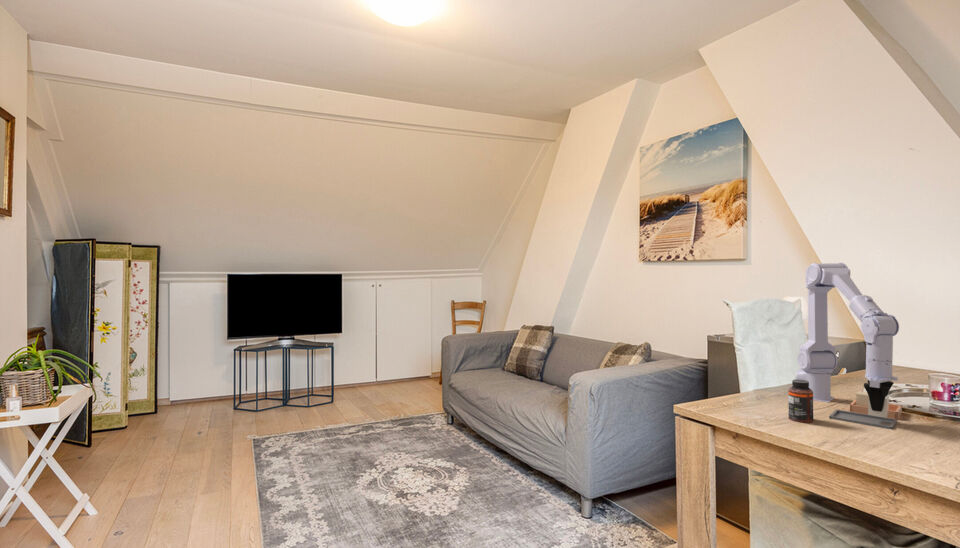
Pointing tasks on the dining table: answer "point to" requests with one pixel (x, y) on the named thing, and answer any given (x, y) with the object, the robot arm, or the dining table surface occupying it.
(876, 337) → the robot arm
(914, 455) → the dining table surface
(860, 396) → the tan cube
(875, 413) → the cream cube on tray
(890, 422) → the parts tray
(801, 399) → the supplement bottle
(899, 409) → the terracotta dish
